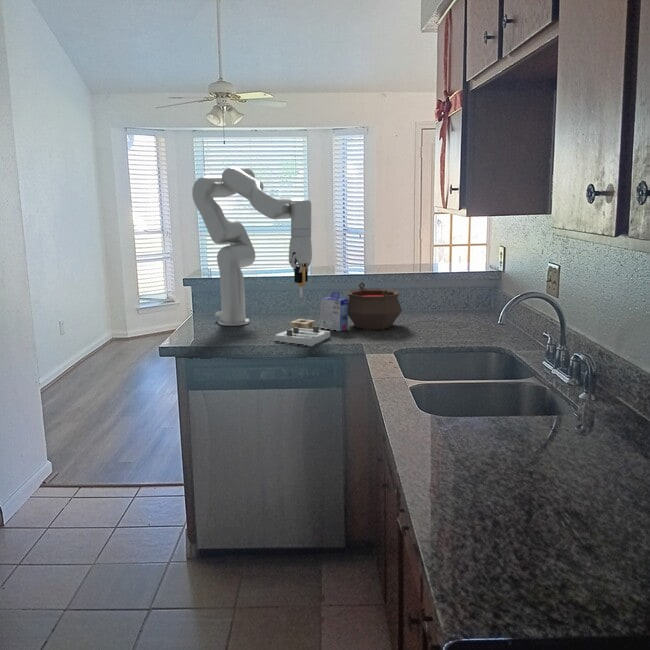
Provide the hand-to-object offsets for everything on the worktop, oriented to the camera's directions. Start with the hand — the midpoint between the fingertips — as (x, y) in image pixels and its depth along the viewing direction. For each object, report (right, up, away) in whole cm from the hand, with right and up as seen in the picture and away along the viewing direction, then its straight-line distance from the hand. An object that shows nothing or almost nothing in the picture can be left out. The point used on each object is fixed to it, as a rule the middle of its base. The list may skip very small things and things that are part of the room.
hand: (301, 281), depth 248 cm
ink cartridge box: (+13, -18, +7) cm, 23 cm away
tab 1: (-4, -21, -13) cm, 25 cm away
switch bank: (+1, -22, -10) cm, 24 cm away
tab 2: (-2, -20, -9) cm, 22 cm away
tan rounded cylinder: (0, -6, +1) cm, 6 cm away
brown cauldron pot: (+28, -17, +13) cm, 35 cm away
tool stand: (+1, -19, +4) cm, 19 cm away
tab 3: (+6, -20, -8) cm, 22 cm away
